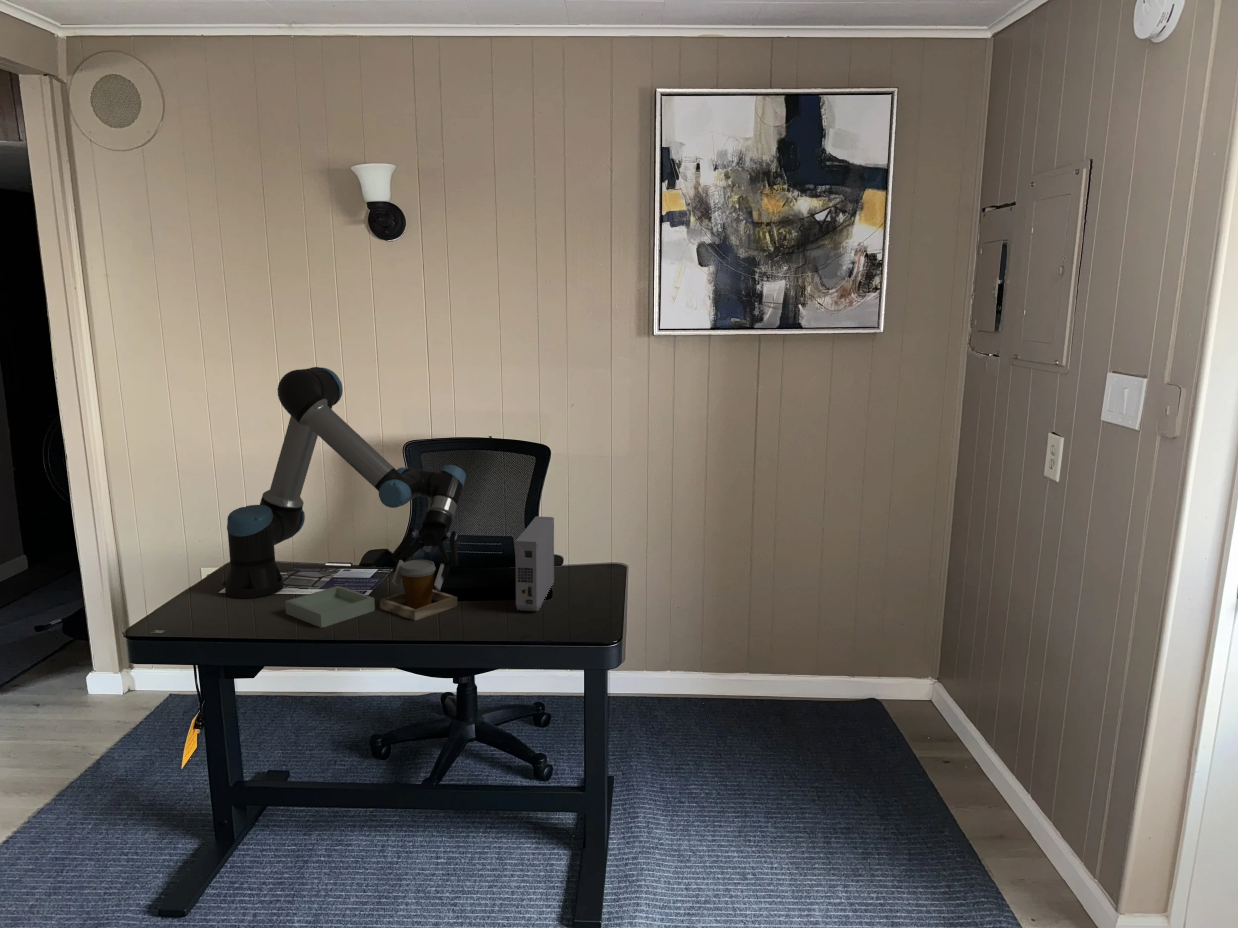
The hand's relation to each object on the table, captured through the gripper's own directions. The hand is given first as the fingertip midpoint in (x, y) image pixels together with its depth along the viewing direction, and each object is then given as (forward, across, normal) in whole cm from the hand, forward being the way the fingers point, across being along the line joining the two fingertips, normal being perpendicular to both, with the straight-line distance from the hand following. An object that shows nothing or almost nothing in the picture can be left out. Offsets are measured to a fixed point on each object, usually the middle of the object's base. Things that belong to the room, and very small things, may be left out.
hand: (415, 585), depth 220 cm
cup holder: (+3, 0, -6) cm, 7 cm away
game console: (-8, -28, -18) cm, 34 cm away
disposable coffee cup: (+3, 0, -7) cm, 7 cm away
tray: (+10, +21, 0) cm, 23 cm away
